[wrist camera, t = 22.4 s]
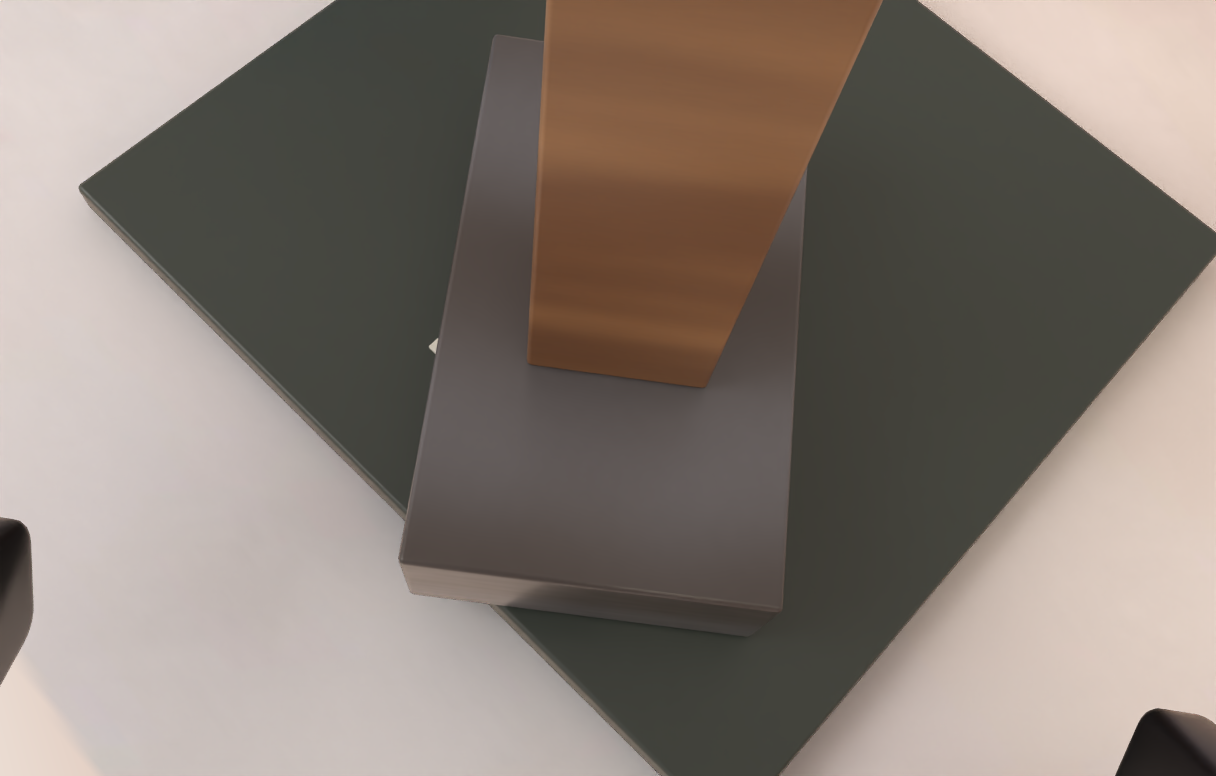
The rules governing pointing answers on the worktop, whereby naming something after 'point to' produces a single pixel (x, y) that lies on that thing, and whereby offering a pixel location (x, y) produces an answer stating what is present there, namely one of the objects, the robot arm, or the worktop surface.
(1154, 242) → the slate board
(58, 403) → the worktop surface
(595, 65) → the duster
